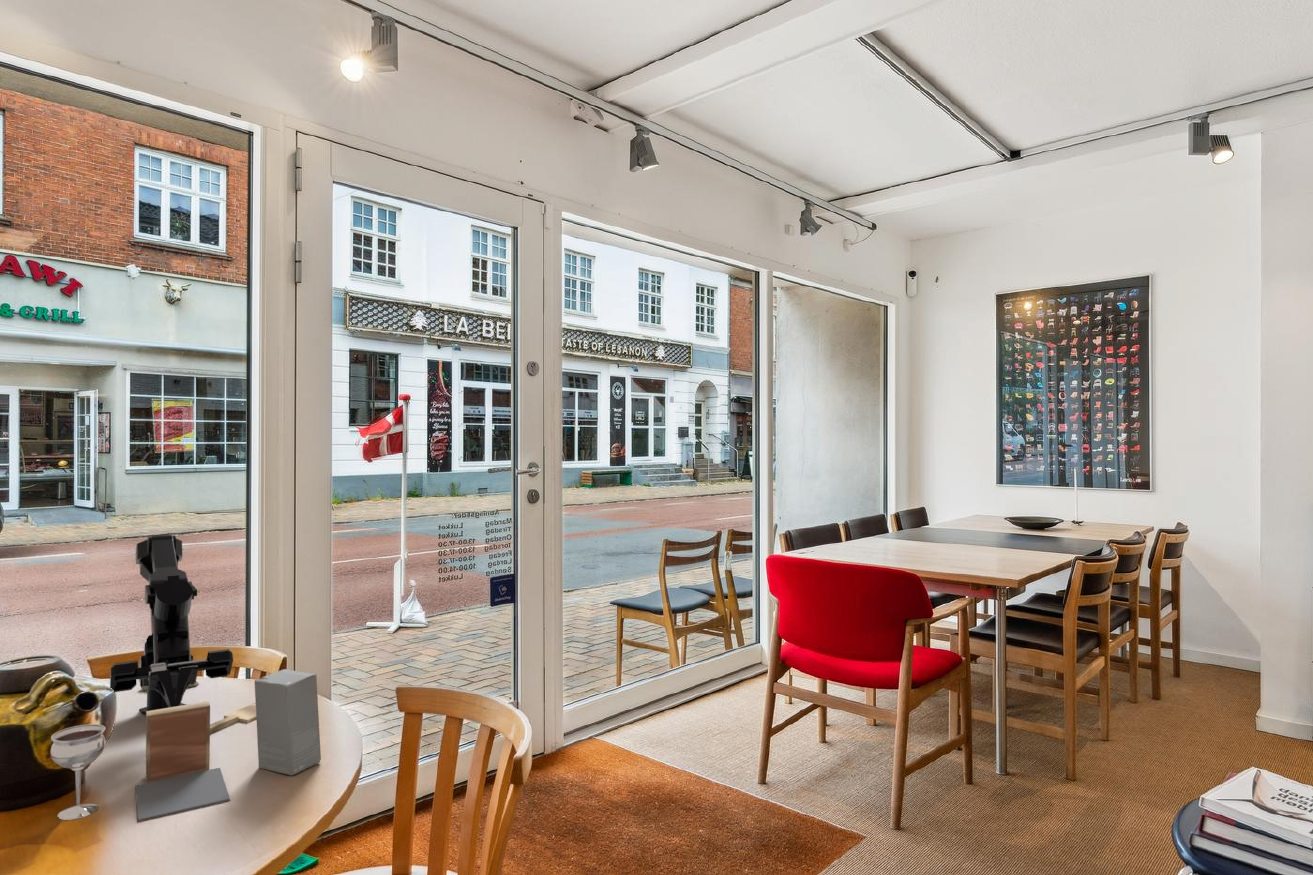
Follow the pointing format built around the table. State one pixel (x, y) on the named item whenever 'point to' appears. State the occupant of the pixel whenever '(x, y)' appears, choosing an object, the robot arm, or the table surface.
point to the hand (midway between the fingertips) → (175, 713)
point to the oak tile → (177, 741)
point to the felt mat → (180, 793)
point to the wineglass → (78, 759)
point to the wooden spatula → (235, 718)
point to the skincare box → (287, 721)
